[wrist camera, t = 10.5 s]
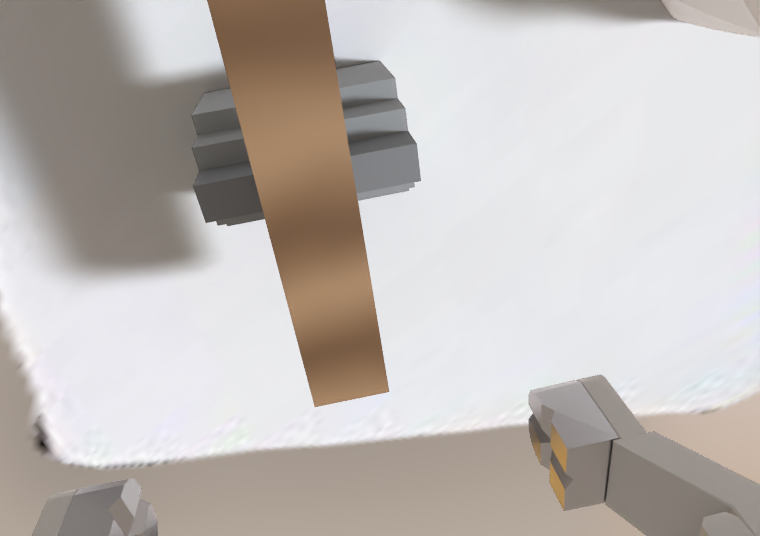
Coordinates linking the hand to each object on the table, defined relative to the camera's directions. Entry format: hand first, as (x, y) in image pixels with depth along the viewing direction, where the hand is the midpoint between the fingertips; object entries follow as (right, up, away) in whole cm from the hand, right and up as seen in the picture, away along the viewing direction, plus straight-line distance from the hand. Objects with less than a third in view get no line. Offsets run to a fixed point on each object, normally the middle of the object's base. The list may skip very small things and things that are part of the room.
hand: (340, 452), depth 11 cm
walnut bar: (-2, +8, +13) cm, 16 cm away
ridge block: (-4, +12, +21) cm, 25 cm away
